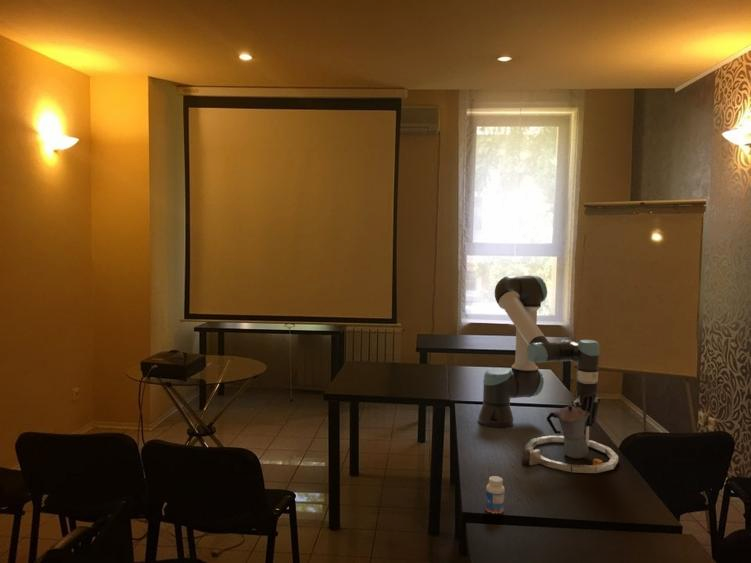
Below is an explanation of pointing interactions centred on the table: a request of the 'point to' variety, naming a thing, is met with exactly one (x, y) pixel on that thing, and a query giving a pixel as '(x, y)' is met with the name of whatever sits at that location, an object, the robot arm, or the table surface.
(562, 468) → the indicator ring
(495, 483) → the pill bottle
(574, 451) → the moka pot
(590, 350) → the robot arm
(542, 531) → the table surface
